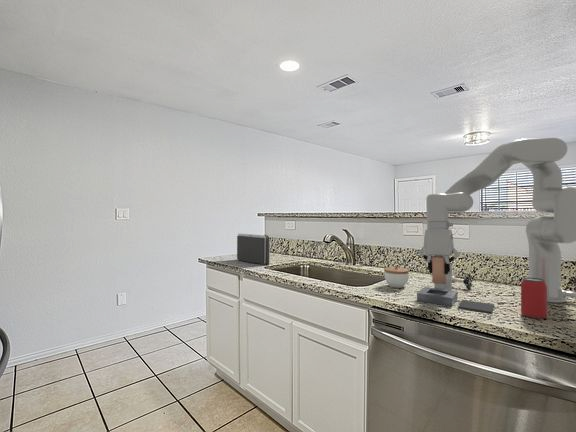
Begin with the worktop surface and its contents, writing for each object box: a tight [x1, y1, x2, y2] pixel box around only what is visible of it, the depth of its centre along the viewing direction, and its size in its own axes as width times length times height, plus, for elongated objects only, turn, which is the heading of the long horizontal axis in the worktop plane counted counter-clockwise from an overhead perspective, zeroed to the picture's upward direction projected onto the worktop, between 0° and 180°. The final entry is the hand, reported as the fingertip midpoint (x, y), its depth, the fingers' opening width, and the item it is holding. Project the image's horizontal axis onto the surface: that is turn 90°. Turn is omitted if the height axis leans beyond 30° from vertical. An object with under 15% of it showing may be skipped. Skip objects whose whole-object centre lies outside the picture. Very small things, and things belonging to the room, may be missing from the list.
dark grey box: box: [236, 232, 271, 265], centre depth 217 cm, size 35×22×20 cm, turn 46°
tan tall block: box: [431, 255, 446, 284], centre depth 119 cm, size 5×5×11 cm
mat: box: [457, 299, 495, 314], centre depth 110 cm, size 10×10×1 cm
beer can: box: [520, 276, 548, 320], centre depth 100 cm, size 7×7×12 cm
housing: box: [416, 286, 458, 307], centre depth 119 cm, size 12×12×3 cm
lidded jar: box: [383, 265, 410, 289], centre depth 141 cm, size 11×11×9 cm
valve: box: [452, 273, 473, 290], centre depth 138 cm, size 7×7×12 cm
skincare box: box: [433, 263, 453, 290], centre depth 132 cm, size 6×4×12 cm
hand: (438, 272), depth 119 cm, fingers closed on tan tall block, 4 cm apart
